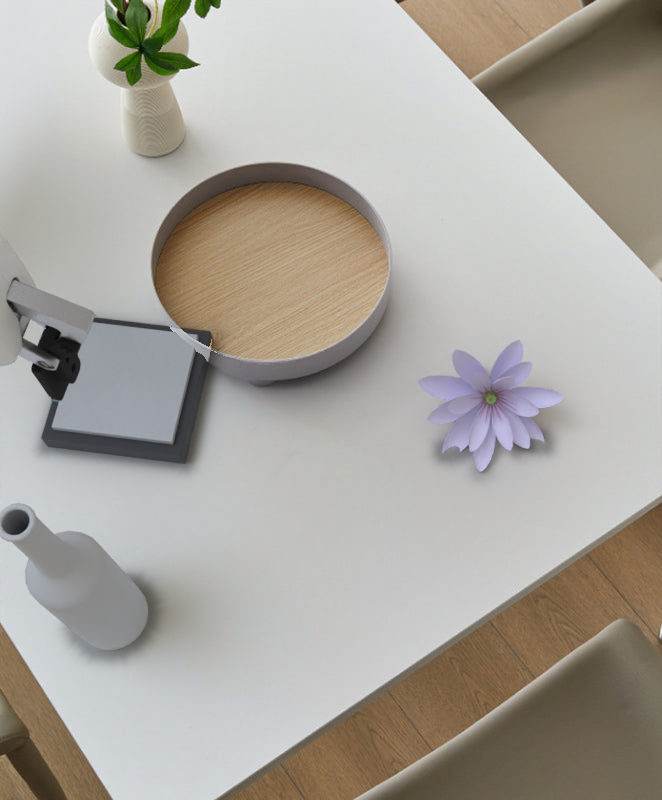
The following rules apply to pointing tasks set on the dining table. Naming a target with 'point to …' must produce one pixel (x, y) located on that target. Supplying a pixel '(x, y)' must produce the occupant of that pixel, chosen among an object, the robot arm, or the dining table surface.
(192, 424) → the scale
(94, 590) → the bottle
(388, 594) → the dining table surface
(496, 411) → the water lily
